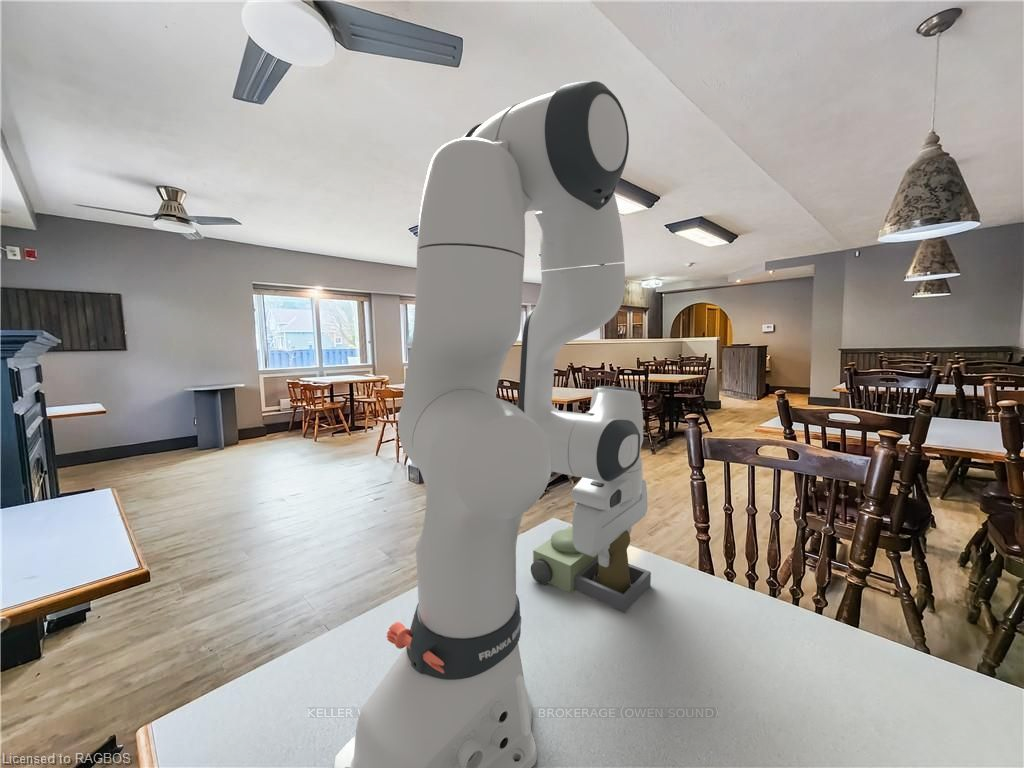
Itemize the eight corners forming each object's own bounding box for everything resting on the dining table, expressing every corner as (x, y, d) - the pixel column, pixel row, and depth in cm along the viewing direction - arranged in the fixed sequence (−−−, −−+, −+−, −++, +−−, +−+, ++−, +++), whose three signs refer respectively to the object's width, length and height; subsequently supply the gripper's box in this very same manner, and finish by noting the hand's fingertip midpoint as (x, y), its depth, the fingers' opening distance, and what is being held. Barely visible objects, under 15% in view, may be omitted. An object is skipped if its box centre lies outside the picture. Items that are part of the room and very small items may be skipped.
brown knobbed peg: (624, 602, 71) (626, 540, 70) (590, 590, 74) (591, 530, 73) (636, 584, 76) (637, 525, 74) (603, 573, 79) (604, 517, 78)
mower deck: (618, 621, 67) (619, 584, 66) (529, 578, 78) (529, 546, 77) (655, 579, 77) (657, 546, 77) (572, 547, 89) (573, 518, 88)
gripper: (625, 461, 82) (623, 529, 84) (565, 494, 67) (565, 576, 69) (657, 468, 78) (655, 540, 80) (601, 504, 63) (600, 592, 65)
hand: (613, 557), depth 74 cm, fingers open, 4 cm apart
